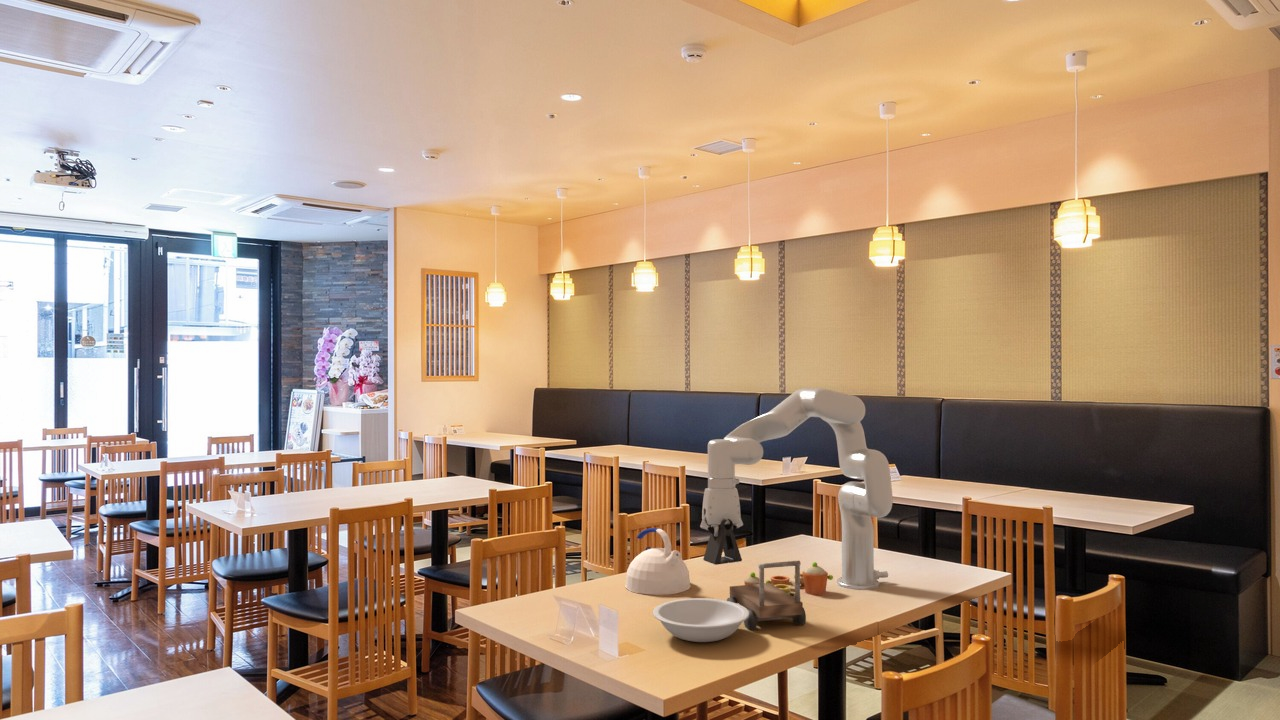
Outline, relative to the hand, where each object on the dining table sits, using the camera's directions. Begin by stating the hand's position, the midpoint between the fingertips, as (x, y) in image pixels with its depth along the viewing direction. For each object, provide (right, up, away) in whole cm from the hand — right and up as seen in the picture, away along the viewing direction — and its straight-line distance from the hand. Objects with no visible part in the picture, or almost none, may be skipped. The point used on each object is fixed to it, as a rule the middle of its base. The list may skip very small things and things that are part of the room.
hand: (722, 549), depth 232 cm
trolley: (+10, -16, -11) cm, 22 cm away
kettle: (-17, -17, +24) cm, 34 cm away
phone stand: (0, -3, 0) cm, 3 cm away
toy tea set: (+21, -17, +15) cm, 31 cm away
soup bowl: (-8, -17, -25) cm, 31 cm away
